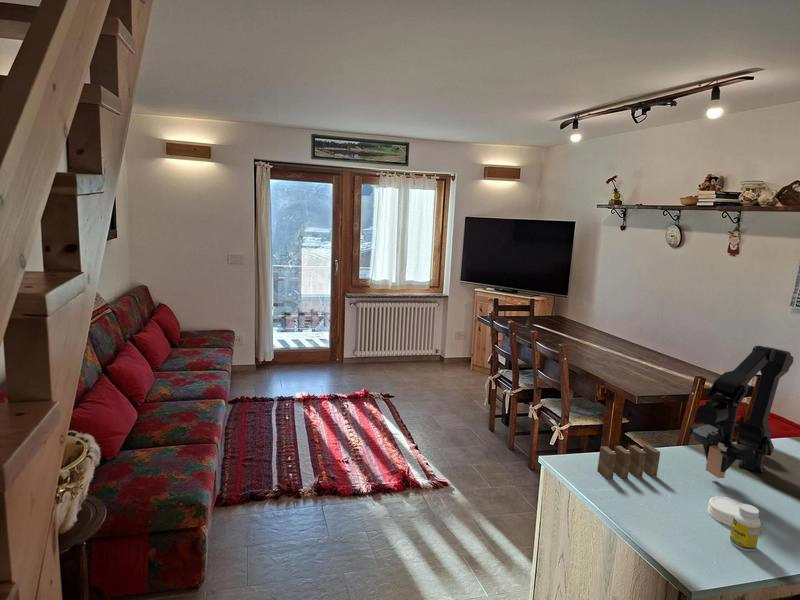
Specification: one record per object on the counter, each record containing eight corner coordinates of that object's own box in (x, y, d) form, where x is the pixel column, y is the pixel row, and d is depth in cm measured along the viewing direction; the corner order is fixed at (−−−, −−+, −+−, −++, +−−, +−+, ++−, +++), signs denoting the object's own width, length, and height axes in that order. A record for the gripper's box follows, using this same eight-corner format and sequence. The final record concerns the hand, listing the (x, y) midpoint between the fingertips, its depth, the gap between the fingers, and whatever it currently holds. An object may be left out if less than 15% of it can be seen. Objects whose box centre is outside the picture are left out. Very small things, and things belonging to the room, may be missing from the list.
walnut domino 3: (631, 469, 159) (635, 445, 158) (642, 477, 154) (645, 452, 153) (626, 469, 159) (629, 445, 158) (636, 477, 154) (640, 452, 153)
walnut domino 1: (603, 470, 157) (606, 446, 156) (612, 478, 152) (616, 453, 151) (597, 470, 157) (600, 446, 155) (606, 479, 152) (610, 454, 151)
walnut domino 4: (645, 468, 160) (649, 444, 159) (656, 476, 156) (660, 452, 154) (640, 468, 160) (643, 444, 159) (650, 476, 155) (654, 452, 154)
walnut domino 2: (617, 469, 158) (620, 445, 157) (627, 478, 153) (631, 453, 152) (611, 470, 158) (615, 445, 156) (621, 478, 153) (625, 453, 152)
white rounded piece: (758, 522, 134) (760, 510, 134) (741, 533, 129) (743, 521, 128) (717, 503, 143) (719, 492, 142) (700, 513, 137) (702, 501, 136)
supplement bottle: (724, 537, 126) (730, 501, 125) (744, 537, 127) (751, 501, 125) (740, 552, 121) (747, 514, 119) (761, 552, 121) (768, 514, 120)
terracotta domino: (711, 469, 157) (715, 445, 156) (724, 477, 152) (728, 452, 151) (705, 469, 157) (709, 445, 155) (718, 478, 152) (723, 453, 150)
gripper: (678, 407, 159) (670, 454, 161) (727, 433, 141) (718, 485, 143) (708, 406, 161) (700, 452, 164) (760, 431, 143) (751, 483, 146)
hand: (715, 467), depth 154 cm, fingers closed on terracotta domino, 5 cm apart
